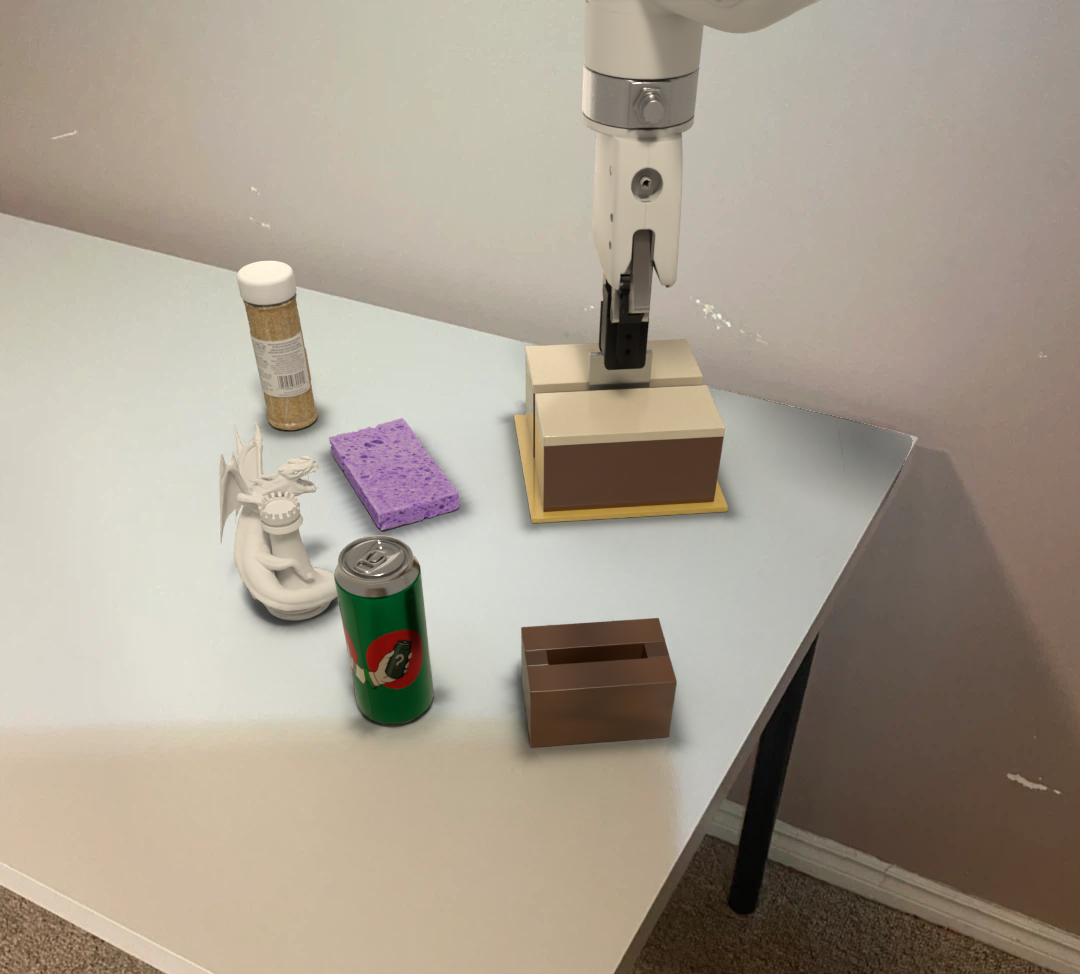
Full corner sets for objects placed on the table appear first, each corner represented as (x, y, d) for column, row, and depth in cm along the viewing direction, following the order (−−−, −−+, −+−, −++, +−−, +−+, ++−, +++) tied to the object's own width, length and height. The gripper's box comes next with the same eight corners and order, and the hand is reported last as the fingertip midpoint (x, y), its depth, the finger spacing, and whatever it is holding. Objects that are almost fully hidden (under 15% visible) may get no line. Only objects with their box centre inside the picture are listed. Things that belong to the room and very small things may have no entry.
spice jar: (316, 404, 94) (291, 256, 84) (320, 429, 91) (294, 279, 81) (266, 409, 93) (234, 260, 84) (268, 435, 90) (236, 284, 81)
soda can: (448, 692, 68) (436, 547, 60) (404, 740, 65) (384, 595, 57) (387, 665, 70) (366, 521, 61) (342, 711, 67) (313, 566, 58)
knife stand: (652, 672, 70) (658, 617, 66) (669, 737, 66) (677, 681, 62) (521, 682, 69) (521, 626, 65) (530, 747, 65) (530, 692, 61)
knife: (642, 428, 87) (655, 281, 77) (646, 441, 85) (660, 293, 76) (584, 431, 86) (590, 284, 77) (587, 444, 85) (594, 296, 76)
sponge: (405, 436, 90) (403, 417, 89) (461, 510, 83) (460, 490, 81) (330, 454, 88) (326, 435, 87) (379, 533, 80) (377, 513, 79)
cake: (687, 410, 94) (696, 334, 88) (727, 511, 83) (740, 431, 77) (514, 419, 92) (512, 342, 87) (531, 523, 81) (531, 442, 76)
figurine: (355, 617, 73) (331, 473, 65) (249, 644, 71) (209, 500, 63) (320, 534, 80) (294, 394, 72) (222, 556, 78) (182, 415, 70)
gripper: (722, 134, 62) (688, 408, 75) (671, 61, 73) (649, 312, 86) (600, 138, 62) (588, 413, 75) (567, 63, 72) (562, 315, 86)
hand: (621, 357), depth 81 cm, fingers closed on knife, 2 cm apart
